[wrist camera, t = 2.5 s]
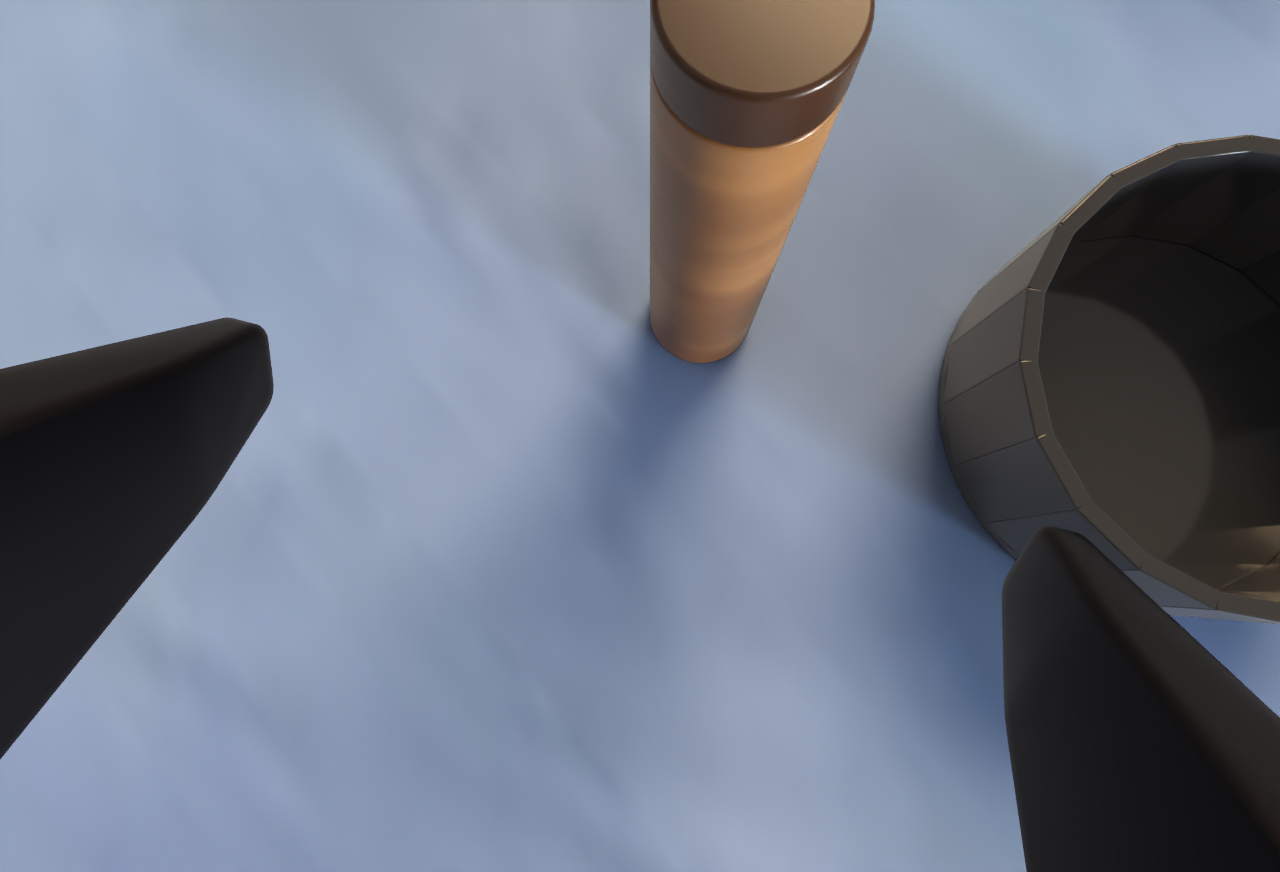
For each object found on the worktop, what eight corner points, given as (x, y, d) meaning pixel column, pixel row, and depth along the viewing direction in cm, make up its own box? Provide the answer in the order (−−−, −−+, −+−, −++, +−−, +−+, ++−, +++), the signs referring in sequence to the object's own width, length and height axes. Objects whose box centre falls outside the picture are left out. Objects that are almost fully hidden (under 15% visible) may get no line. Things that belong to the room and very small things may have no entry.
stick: (771, 316, 22) (923, -1, 10) (698, 384, 22) (762, 144, 10) (701, 247, 23) (764, -143, 10) (628, 312, 22) (602, -8, 10)
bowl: (1409, 421, 22) (1634, 376, 17) (1152, 697, 20) (1313, 737, 16) (1113, 160, 23) (1241, 47, 18) (858, 406, 22) (919, 357, 17)
